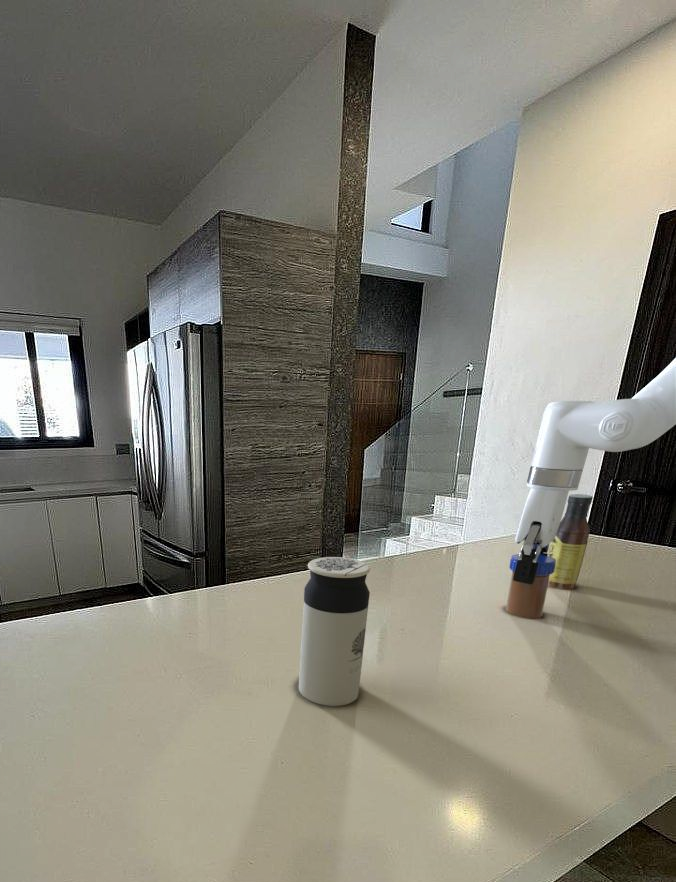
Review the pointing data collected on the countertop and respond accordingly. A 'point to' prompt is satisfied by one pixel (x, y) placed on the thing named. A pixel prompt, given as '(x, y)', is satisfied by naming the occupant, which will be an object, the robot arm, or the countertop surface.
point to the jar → (527, 597)
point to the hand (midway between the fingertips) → (527, 576)
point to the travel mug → (333, 630)
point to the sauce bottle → (570, 542)
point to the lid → (544, 566)
